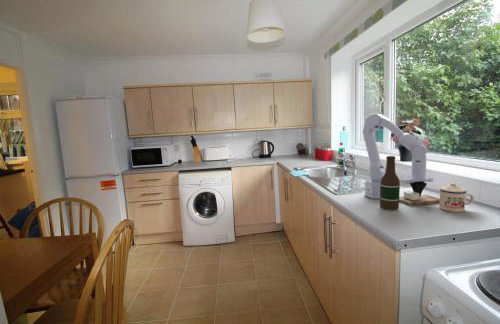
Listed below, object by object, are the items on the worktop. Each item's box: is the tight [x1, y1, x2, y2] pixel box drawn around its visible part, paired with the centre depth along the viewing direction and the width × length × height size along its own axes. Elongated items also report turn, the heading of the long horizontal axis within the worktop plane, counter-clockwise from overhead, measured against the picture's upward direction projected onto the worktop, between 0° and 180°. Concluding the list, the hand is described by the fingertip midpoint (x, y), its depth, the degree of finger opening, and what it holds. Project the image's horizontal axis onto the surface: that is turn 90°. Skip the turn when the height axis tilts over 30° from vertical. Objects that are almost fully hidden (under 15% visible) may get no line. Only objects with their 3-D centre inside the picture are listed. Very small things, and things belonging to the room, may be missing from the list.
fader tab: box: [403, 190, 419, 200], centre depth 120 cm, size 4×5×3 cm
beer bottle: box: [379, 155, 401, 211], centre depth 112 cm, size 8×8×24 cm
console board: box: [399, 194, 440, 207], centre depth 121 cm, size 18×10×2 cm, turn 99°
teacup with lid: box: [438, 182, 475, 213], centre depth 107 cm, size 12×9×12 cm
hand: (417, 196), depth 121 cm, fingers closed
